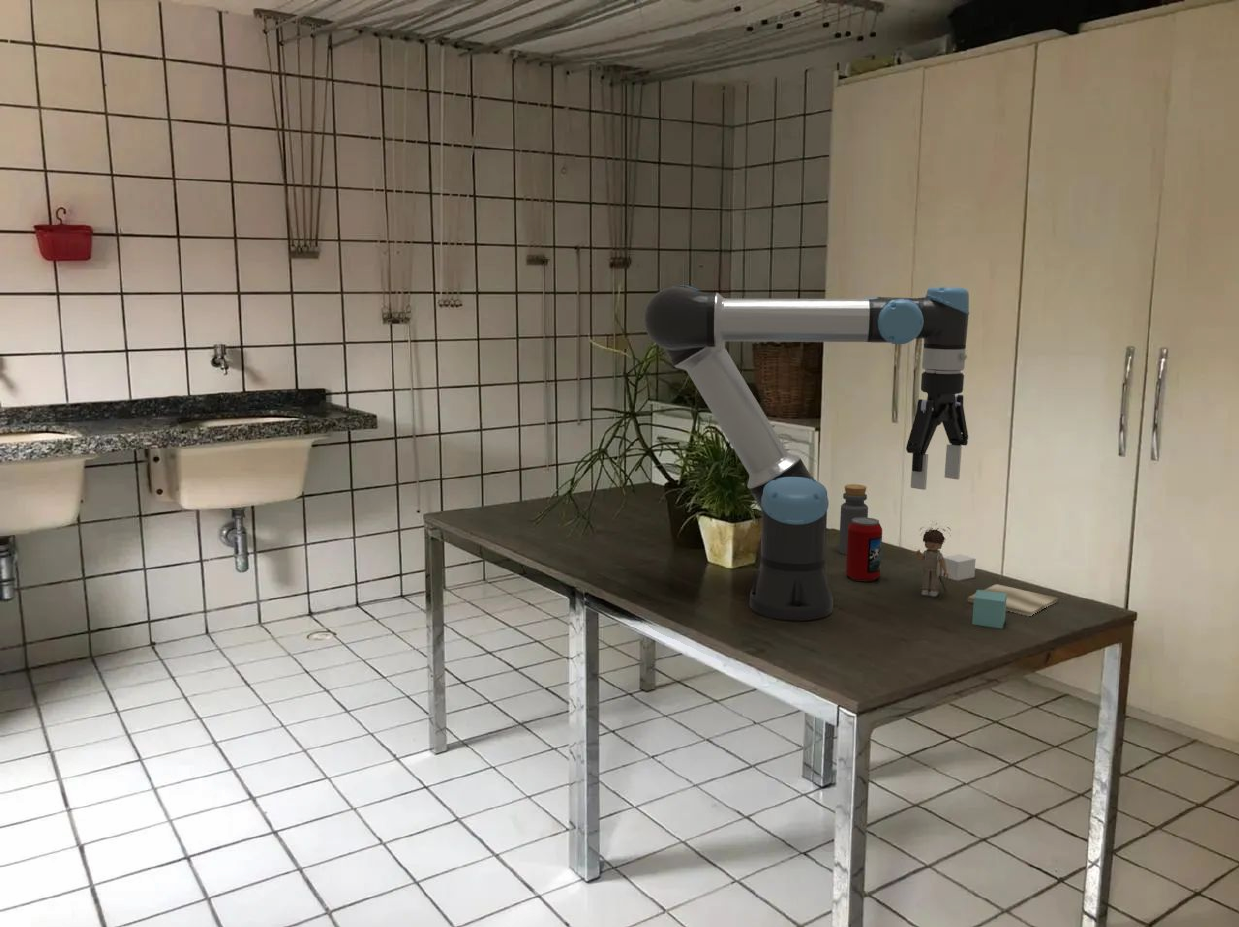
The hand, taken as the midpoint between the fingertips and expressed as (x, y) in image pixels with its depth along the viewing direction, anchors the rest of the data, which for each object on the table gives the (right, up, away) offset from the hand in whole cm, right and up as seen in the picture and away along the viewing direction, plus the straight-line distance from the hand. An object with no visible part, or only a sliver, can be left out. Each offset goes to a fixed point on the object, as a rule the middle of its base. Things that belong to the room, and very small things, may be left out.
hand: (935, 483), depth 190 cm
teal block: (+6, -24, -12) cm, 28 cm away
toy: (0, -22, +3) cm, 22 cm away
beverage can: (-10, -20, +14) cm, 26 cm away
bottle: (-8, -16, +32) cm, 37 cm away
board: (+14, -22, -1) cm, 26 cm away
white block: (+9, -19, +15) cm, 26 cm away
